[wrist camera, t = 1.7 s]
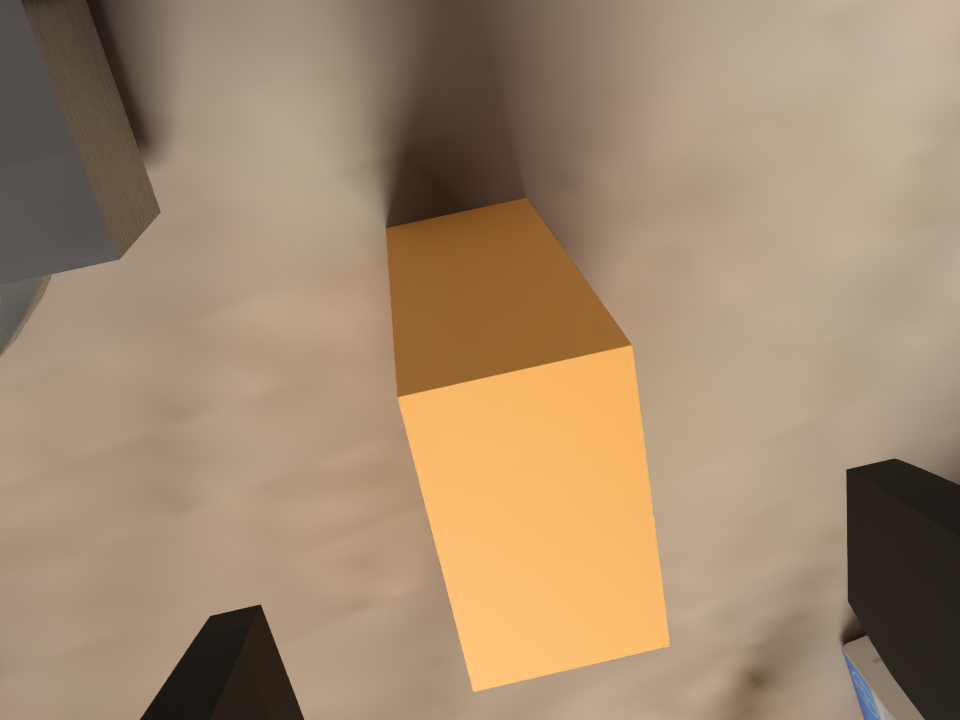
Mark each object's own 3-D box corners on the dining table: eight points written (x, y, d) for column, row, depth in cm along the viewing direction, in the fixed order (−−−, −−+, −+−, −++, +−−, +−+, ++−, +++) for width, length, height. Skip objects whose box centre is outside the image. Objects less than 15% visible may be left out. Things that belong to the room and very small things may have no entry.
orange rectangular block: (561, 405, 20) (669, 646, 13) (435, 433, 20) (473, 691, 13) (526, 197, 18) (631, 344, 11) (385, 228, 18) (397, 397, 11)
